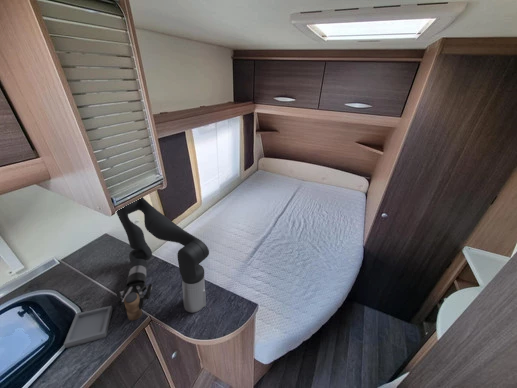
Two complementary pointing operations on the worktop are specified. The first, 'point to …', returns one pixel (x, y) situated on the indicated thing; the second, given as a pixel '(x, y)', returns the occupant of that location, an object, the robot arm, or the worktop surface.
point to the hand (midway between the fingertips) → (132, 309)
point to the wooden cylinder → (132, 306)
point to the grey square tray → (89, 326)
